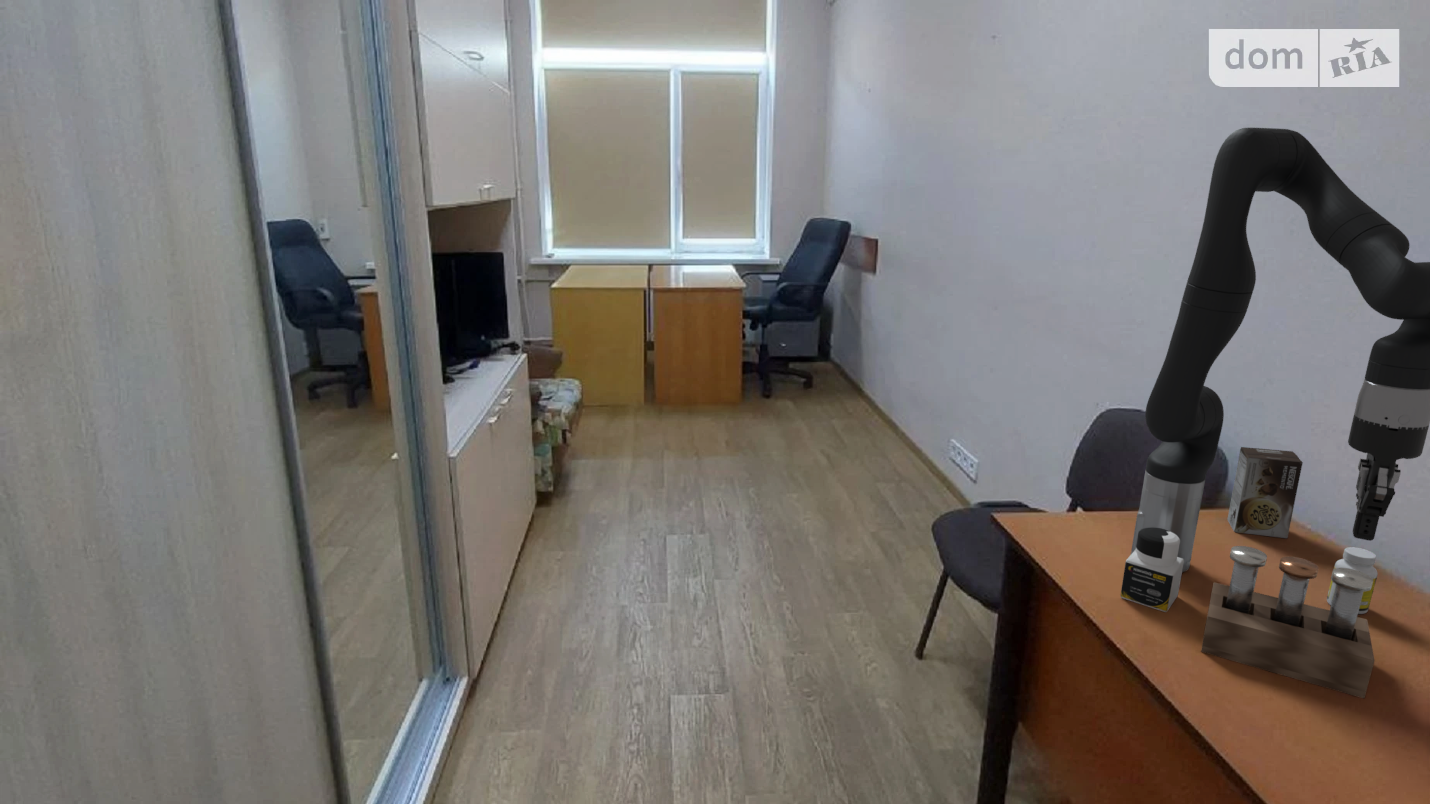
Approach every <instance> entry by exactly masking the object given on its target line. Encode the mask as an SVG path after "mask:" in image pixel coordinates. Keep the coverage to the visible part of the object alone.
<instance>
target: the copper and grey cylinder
mask: <svg viewBox="0 0 1430 804" xmlns="http://www.w3.org/2000/svg"><path fill="white" fill-rule="evenodd" d="M1278 568H1279V571H1281V572H1282V573H1283V575H1282V580H1281V582H1280V583H1281V584H1280V588H1279V593H1278V596H1277V598H1278V601H1277V606H1276V610H1275V615H1274V619H1273V621H1277V622H1281V623H1285V624H1289V625H1292V626H1296V627H1299V622H1300V618H1301V614H1302V609H1303V605H1304V604H1305V600H1306V595H1307V592H1308V588H1309V584H1310V583H1309V582H1310V580H1311V579H1312V580H1313V579H1316V578H1317V577H1318V572H1319V566H1318V564H1316V563H1314V562H1313V561H1310V560H1309V559H1305V558H1301V557H1299V556H1298V557H1297V556H1283V557H1281V558H1280V560H1279V564H1278Z"/></svg>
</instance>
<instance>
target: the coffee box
mask: <svg viewBox="0 0 1430 804" xmlns="http://www.w3.org/2000/svg"><path fill="white" fill-rule="evenodd" d="M1237 461H1238V462H1237V466H1236V471H1235V476H1234V477H1235V478H1234V482H1233V488H1232V494H1231V500H1230V504H1229V509H1228V513H1227V514H1228V515H1227V519H1226V520H1227V522H1228V524H1229V526H1230V528H1231V529H1232V531H1233V532H1234V533H1239V534H1247V535H1256V536H1263V537H1264V536H1265V537H1273V538H1280V539H1281V538H1282V539H1288V538H1289V533H1290V528H1291V522H1292V518H1293V517H1292V516H1293V513H1294V508H1295V502H1296V498H1297V493H1298V488H1299V483H1300V478H1301V472H1302V469H1303V463H1304V462H1303V461H1302V460H1301V459H1300V457H1299V456H1298V454H1296V453H1295V452H1294V451H1293V450H1283V449H1282V450H1281V449H1280V450H1279V449H1269V448H1268V449H1267V448H1259V447H1258V448H1257V447H1247V446H1246V447H1245V446H1240V450H1239V456H1238V460H1237Z"/></svg>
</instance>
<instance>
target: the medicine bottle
mask: <svg viewBox="0 0 1430 804" xmlns="http://www.w3.org/2000/svg"><path fill="white" fill-rule="evenodd" d="M1179 544H1180V539H1179V537H1178V536H1177V535H1176V534H1174V533H1172V532H1170V531H1168V530H1165V529H1162V528H1155V527H1150V528H1143V529H1141V530H1140V531H1139V532H1138V538H1137V544H1136V549H1135V551H1134V552H1133V553H1132V554H1131V553H1130V555H1129V556H1128V558H1126V560H1125V564H1124V571H1123V577H1122V583H1121V589H1120V590H1121V591H1120V594H1119V595H1120V598H1121V599H1123V600H1127V601H1129V602H1132V603H1135V604H1138V605H1143V606H1145V607H1148V608H1151V609H1155V610H1158V611H1161V612H1164V613H1167V612H1168V611H1169V610H1170V608H1171V607H1172V605H1173V603H1174V602H1175V600H1176V599H1177V597H1178V595H1179V591H1180V586H1181V579H1182V573H1183V572H1182V569H1183V564H1184V559H1183V558H1179V557H1177V556H1178V550H1179Z"/></svg>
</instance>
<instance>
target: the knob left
mask: <svg viewBox="0 0 1430 804" xmlns="http://www.w3.org/2000/svg"><path fill="white" fill-rule="evenodd" d="M1267 555H1268V554H1266V553H1265V552H1264V551H1262V550H1260V549H1258V548H1255V547H1252V546H1246V545H1234V546H1232V547H1231V548H1230V553H1229V558H1230V559H1231V560H1232V561H1233V568H1232V572H1231V578H1230V583H1229V586H1230V587H1229V592H1228V597H1227V602H1226V607H1225V608H1226V609H1230V610H1234V611H1238V612H1242V613H1246V614H1249V611H1250V607H1251V602H1252V597H1253V592H1255V587H1256V582H1257V578H1258V577H1257V576H1258V573H1259V569H1260V568H1263V567H1265V566H1266V564H1267V558H1268V556H1267Z"/></svg>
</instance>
